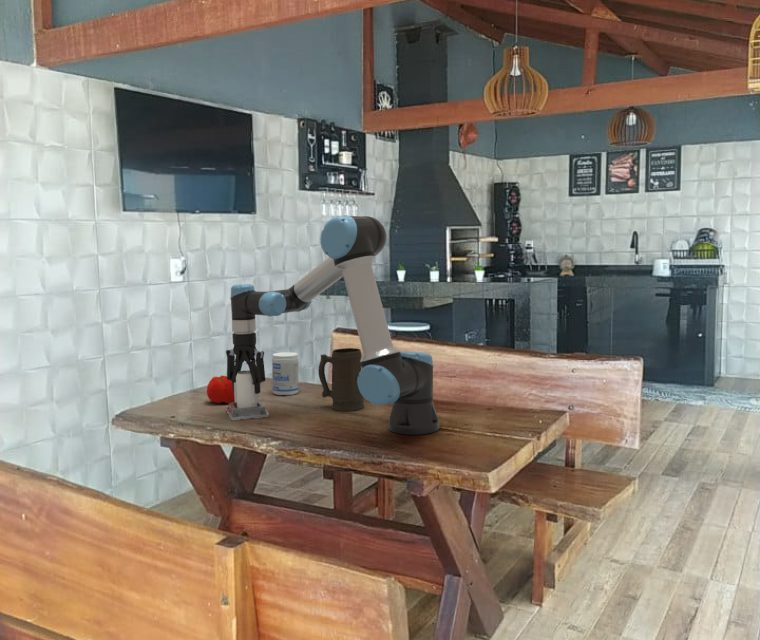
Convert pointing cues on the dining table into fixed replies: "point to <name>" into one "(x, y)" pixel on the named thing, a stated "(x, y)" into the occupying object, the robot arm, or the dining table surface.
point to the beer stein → (343, 379)
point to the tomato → (220, 390)
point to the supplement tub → (285, 373)
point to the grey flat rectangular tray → (246, 411)
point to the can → (244, 389)
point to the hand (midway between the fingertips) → (246, 402)
